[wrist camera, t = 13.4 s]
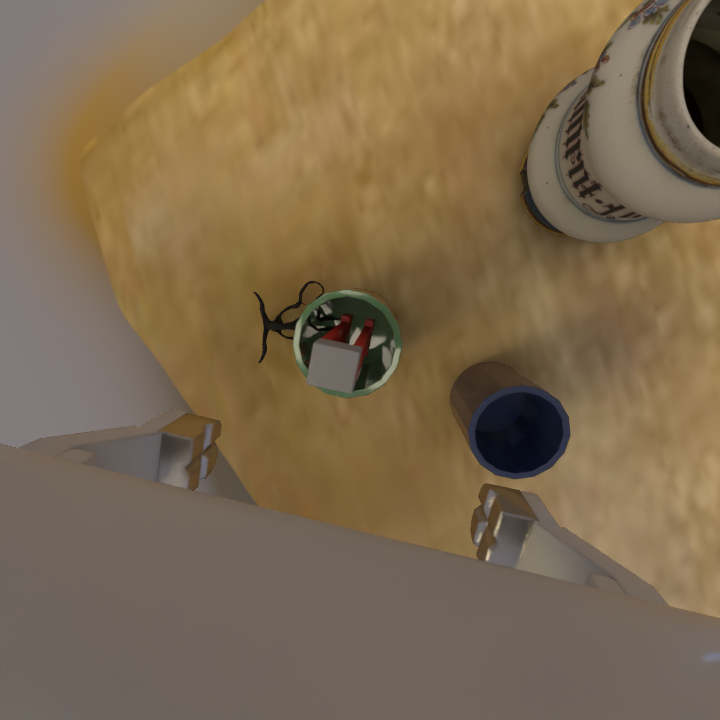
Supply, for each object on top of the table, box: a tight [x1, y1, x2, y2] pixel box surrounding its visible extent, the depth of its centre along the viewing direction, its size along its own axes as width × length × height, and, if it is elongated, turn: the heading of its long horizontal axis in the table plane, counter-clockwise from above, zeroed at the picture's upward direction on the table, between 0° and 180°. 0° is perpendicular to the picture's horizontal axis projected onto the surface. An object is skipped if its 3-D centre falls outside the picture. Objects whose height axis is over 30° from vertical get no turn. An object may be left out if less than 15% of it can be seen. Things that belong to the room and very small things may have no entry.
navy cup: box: [450, 362, 570, 479], centre depth 33 cm, size 7×7×9 cm
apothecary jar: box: [520, 0, 720, 243], centre depth 24 cm, size 12×12×18 cm
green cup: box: [293, 288, 402, 398], centre depth 32 cm, size 8×8×10 cm
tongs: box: [306, 313, 375, 394], centre depth 28 cm, size 3×3×16 cm
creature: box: [253, 281, 341, 363], centre depth 35 cm, size 8×5×8 cm
